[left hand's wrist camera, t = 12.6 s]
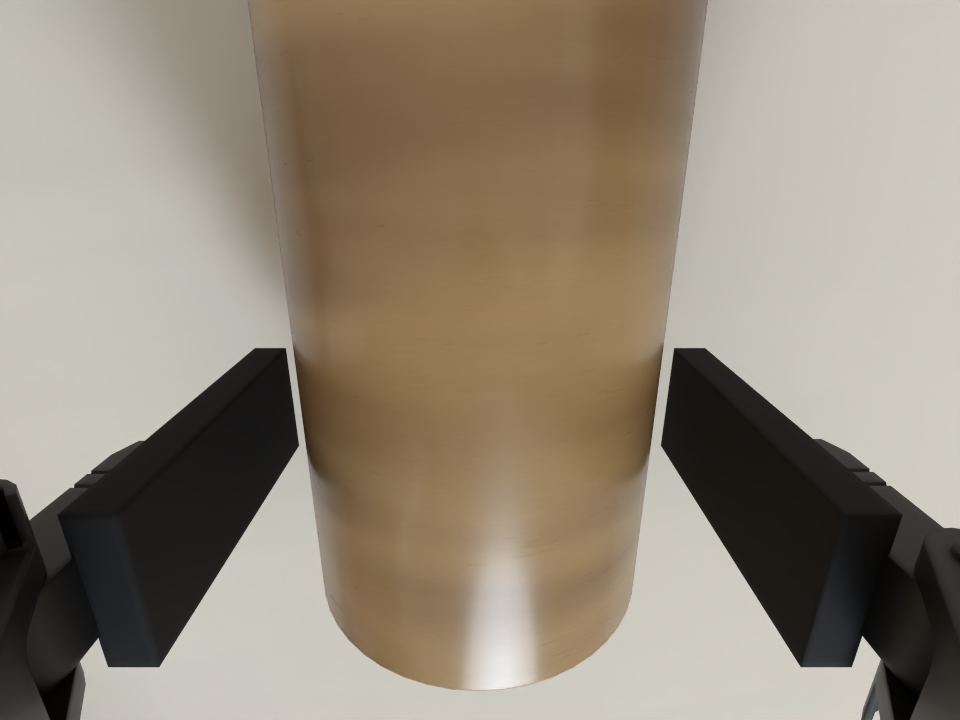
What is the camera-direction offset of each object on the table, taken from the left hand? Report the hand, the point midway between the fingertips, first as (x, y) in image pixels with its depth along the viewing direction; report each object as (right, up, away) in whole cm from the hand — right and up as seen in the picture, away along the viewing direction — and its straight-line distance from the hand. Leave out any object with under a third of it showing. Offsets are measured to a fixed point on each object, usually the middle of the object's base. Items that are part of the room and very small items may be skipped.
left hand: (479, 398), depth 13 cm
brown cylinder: (0, +8, 0) cm, 8 cm away
